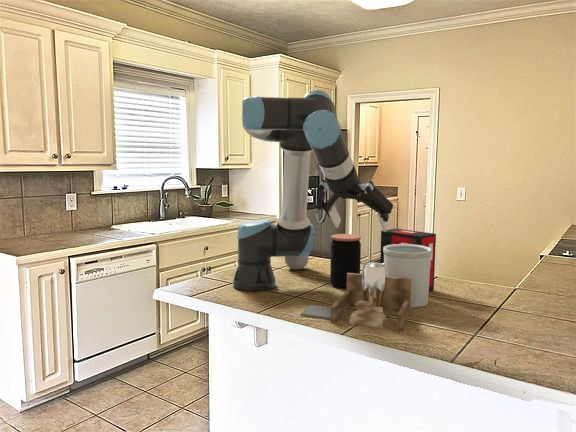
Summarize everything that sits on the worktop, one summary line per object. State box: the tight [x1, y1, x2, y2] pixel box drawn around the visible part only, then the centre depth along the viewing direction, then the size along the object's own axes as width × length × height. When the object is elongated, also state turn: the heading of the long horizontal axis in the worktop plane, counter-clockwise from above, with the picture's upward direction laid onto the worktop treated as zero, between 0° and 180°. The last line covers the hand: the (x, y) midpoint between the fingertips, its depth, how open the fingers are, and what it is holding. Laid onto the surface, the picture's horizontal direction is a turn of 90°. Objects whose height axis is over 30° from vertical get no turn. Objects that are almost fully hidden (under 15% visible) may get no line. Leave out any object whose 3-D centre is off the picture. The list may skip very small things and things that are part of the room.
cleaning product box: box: [379, 227, 437, 293], centre depth 167 cm, size 16×9×20 cm, turn 41°
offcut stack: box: [349, 300, 387, 329], centre depth 131 cm, size 9×5×6 cm, turn 69°
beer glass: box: [361, 261, 386, 315], centre depth 137 cm, size 7×7×15 cm
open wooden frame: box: [330, 273, 411, 333], centre depth 136 cm, size 19×19×10 cm
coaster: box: [300, 304, 331, 320], centre depth 140 cm, size 9×9×1 cm
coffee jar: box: [329, 233, 362, 290], centre depth 170 cm, size 11×11×18 cm
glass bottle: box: [284, 215, 310, 271], centre depth 194 cm, size 10×10×28 cm
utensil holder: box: [383, 244, 432, 309], centre depth 150 cm, size 15×15×18 cm
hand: (361, 225), depth 126 cm, fingers open, 13 cm apart
